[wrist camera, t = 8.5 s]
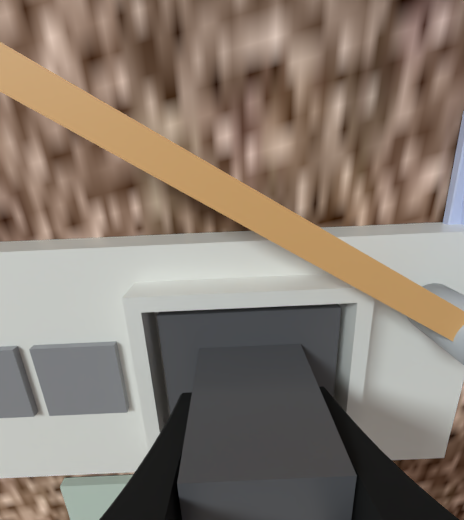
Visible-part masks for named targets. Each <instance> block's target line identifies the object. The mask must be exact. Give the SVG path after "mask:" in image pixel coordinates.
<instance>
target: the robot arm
mask: <svg viewBox="0 0 464 520" xmlns="http://www.w3.org/2000/svg"><path fill="white" fill-rule="evenodd" d="M443 224H448V225H453V224H463V225H464V111H463V116H462V122H461V127H460V132H459V138H458V143H457V149H456V154H455V159H454V165H453V170H452V175H451V181H450V186H449V192H448V197H447V202H446V208H445V213H444V218H443ZM319 388H320V391H321V393H322V395H323V398H324V400H325V402H326V405H327V407H328V409H329V412H330V414H331V416H332V419H333V421H334V423H335V426H336V428H337V430H338V433H339V435H340V437H341V440H342V442H343V444H344V447H345V449H346V451H347V454H348V456H349V458H350V461H351V463H352V465H353V468H354V470H355V473H356V475H357V478H356V486H355V494H354V502H353V510H352V517H351V520H459V519H458V518H457V517H455V516H454V515H453V514H451V513H450V512H449V511H448V510H446V509H445V508H444V507H443V506H442V505H440V504H439V503H438V502H437V501H436V500H435V499H433V498H432V497H431V496H430V495H429V494H427V493H426V492H425V491H424V490H423V489H422V488H421V487H420V486H418V485H417V484H416V483H415V482H414V481H413V480H412V479H411V478H410V477H408V476H407V475H406V474H405V473H404V472H403V471H402V470H401V469H400V468H399V467H398V466H397V465H396V464H395V463H394V462H393V461H392V460H391V459H390V458H389V457H388V456H386V455H385V454H384V453H383V452H382V451H381V450H380V449H379V448H378V446H377V445H376V444H375V443H374V442H373V441H372V440H371V439H370V438H369V437H368V436H367V435H366V434H365V433H364V432H363V431H362V430H361V429H360V427H359V426H358V425H357V424H356V423H355V422H354V421H353V420H352V419H351V418H350V416H349V415H348V414H347V413H346V412H345V411H344V410H343V408H342V407H341V406H340V405H339V404H338V403H337V401H336V400H335V399H334V398H333V397H332V395H331V394H330V393H329V392H328V391H327V389H326V388H325V387H324V386H322V387H319ZM191 396H192V392H188V393H182V394H181V395H180V397H179V399H178V401H177V403H176V405H175V407H174V409H173V411H172V413H171V415H170V416H169V418H168V420H167V422H166V424H165V425H164V427H163V429H162V431H161V432H160V434H159V436H158V437H157V439H156V441H155V442H154V444H153V446H152V447H151V449H150V450H149V452H148V453H147V455H146V456H145V458H144V459H143V461H142V462H141V464H140V465H139V467H138V468H137V470H136V471H135V473H134V474H133V476H132V477H131V479H130V480H129V481H128V483H127V484H126V486H125V487H124V488H123V490H122V491H121V492H120V494H119V495H118V496H117V498H116V499H115V500H114V502H113V503H112V504H111V505H110V507H109V508H108V509H107V511H106V512H105V513H104V514H103V515H102V517H101V518H100V519H99V520H182V515H181V508H180V501H179V494H178V487H177V481H178V475H179V469H180V463H181V456H182V450H183V444H184V438H185V432H186V426H187V420H188V414H189V408H190V402H191Z"/></svg>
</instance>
